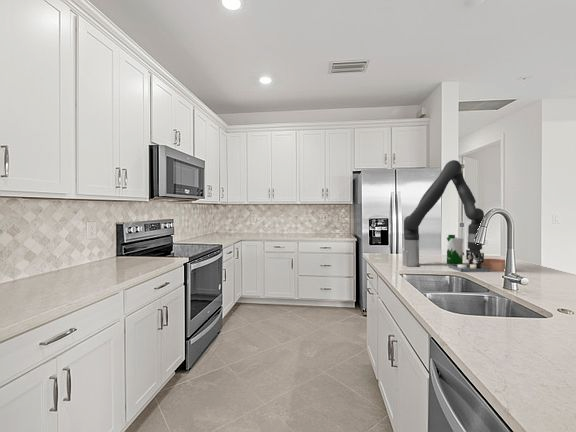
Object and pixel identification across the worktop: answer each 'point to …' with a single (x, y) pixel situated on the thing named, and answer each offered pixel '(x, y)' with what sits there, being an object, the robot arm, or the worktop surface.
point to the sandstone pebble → (472, 266)
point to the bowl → (494, 264)
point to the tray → (469, 269)
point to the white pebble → (462, 266)
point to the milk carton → (454, 250)
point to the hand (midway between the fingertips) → (474, 268)
